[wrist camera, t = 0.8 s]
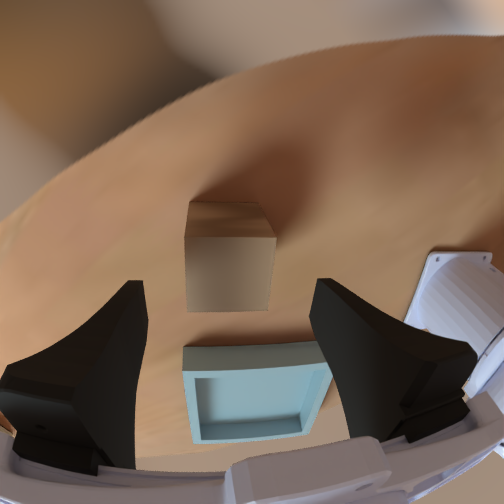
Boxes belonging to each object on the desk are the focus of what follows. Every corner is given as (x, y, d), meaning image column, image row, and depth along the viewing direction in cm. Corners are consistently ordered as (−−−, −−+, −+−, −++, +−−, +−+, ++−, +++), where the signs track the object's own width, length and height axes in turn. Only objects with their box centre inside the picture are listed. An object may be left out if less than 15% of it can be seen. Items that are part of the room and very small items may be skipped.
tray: (328, 339, 24) (338, 360, 22) (302, 415, 29) (308, 434, 27) (183, 346, 22) (182, 371, 20) (192, 423, 27) (193, 443, 25)
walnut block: (258, 202, 18) (276, 237, 13) (252, 262, 20) (267, 310, 15) (189, 201, 17) (184, 237, 13) (189, 263, 19) (187, 312, 15)
